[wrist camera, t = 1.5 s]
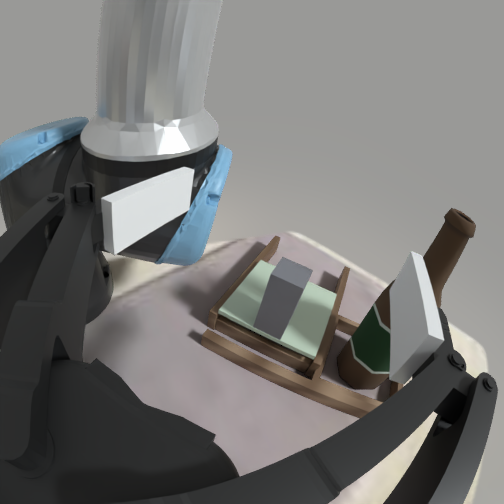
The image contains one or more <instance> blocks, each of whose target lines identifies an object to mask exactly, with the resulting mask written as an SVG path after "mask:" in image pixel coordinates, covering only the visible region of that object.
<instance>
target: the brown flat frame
mask: <svg viewBox="0 0 504 504" xmlns="http://www.w3.org/2000/svg"><path fill="white" fill-rule="evenodd" d="M279 241H280V237H278V236H275V237H274V238H273V239H272V240H271V241H270V243H269V244H268V245H267V246H266V247H265V248H264V249H263V251H262V252H261V253H260V254H259V255H258V256H257V257H256V259H255V260H254V261H253V262H252V263H251V264H250V265H249V267H248V268H247V269H246V270H245V271H244V272H243V273H242V274H241V276H240V277H239V278H238V279H237V280H236V281H235V282H234V284H233V285H232V286H231V287H230V288H229V289H228V290H227V292H226V293H225V294H224V295H223V296H222V297H221V298H220V300H219V301H218V302H217V303H216V304H215V305H214V306H213V307H212V309H211V310H210V311H209V317H208V324H207V326H208V327H210V328H212V329H213V330H214V329H216V330H218V331H220V332H222V333H223V334H225V335H227V336H229V337H231V338H233V339H235V340H237V341H239V342H241V343H242V344H244V345H246V346H248V347H250V348H252V349H254V350H256V351H258V352H260V353H262V354H264V355H266V356H269V357H271V358H273V359H275V360H277V361H279V362H281V363H283V364H285V365H288V366H290V367H292V368H294V369H296V370H299V371H301V372H303V373H304V372H305V371H306V372H305V374H304V375H307V376H309V377H310V378H309V379H307V378H305V377H303V376H301V375H298V374H296V373H294V372H292V371H290V370H287V369H285V368H283V367H281V366H279V365H277V364H275V363H272V362H270V361H268V360H266V359H264V358H262V357H260V356H258V355H256V354H254V353H252V352H250V351H248V350H246V349H244V348H242V347H240V346H238V345H236V344H235V343H233V342H231V341H229V340H227V339H225V338H223V337H221V336H220V335H218V334H216V333H214V332H212V331H210V330H209V329H207V330H206V331H205V332H204V334H203V335H202V341H201V345H202V346H204V347H206V348H208V349H209V350H211V351H213V352H215V353H217V354H218V355H220V356H222V357H224V358H226V359H228V360H229V361H231V362H233V363H235V364H237V365H239V366H241V367H243V368H245V369H247V370H249V371H251V372H253V373H255V374H257V375H259V376H261V377H263V378H265V379H267V380H269V381H271V382H273V383H275V384H278V385H280V386H282V387H284V388H286V389H288V390H291V391H293V392H295V393H297V394H300V395H302V396H304V397H307V398H309V399H312V400H314V401H316V402H319V403H321V404H324V405H326V406H329V407H331V408H334V409H337V410H339V411H342V412H345V413H347V414H350V415H353V416H356V417H358V418H362V417H363V416H365V415H366V414H368V413H369V412H371V411H372V410H373V409H375V408H376V407H378V406H379V405H380V404H382V403H383V402H380V401H377V400H375V399H372V398H369V397H366V396H364V395H361V394H359V393H356V392H353V391H351V390H348V389H346V388H343V387H341V386H338V385H336V384H333V383H331V382H328V381H326V380H324V379H321V378H320V376H321V373H322V370H323V367H324V364H325V362H326V359H327V356H328V352H329V349H330V346H331V343H332V340H333V337H334V334H335V330H336V329H338V330H340V331H342V332H344V333H347V334H349V335H351V336H352V335H353V334H354V332H355V331H356V330H357V328H358V327H359V325H360V324H358V323H356V322H354V321H351V320H349V319H347V318H345V317H342V316H340V315H338V311H339V307H340V304H341V300H342V297H343V293H344V290H345V286H346V282H347V278H348V275H349V271H350V268H348V267H346V266H345V267H344V269H343V271H342V273H341V275H340V277H339V280H338V283H337V286H336V289H335V292H334V293H335V294H337V296H336V299H335V302H334V305H333V308H332V311H331V314H330V317H329V320H328V323H327V326H326V329H325V332H324V335H323V338H322V340H321V343H320V346H319V349H318V351H317V354H316V357H315V358H314V359H311V358H309V357H307V356H302V355H299V354H297V353H295V352H293V351H291V350H289V349H286V348H284V347H282V346H280V345H278V344H276V343H274V342H272V341H270V340H268V339H266V338H263V337H261V336H259V335H257V334H255V333H253V332H251V331H249V330H247V329H245V328H243V327H242V326H240V325H238V324H236V323H234V322H232V321H230V319H229V318H227V317H225V316H223V315H221V314H219V313H218V311H219V309H220V308H221V307H222V305H223V304H224V303H225V302H226V301H227V299H228V298H229V297H230V296H231V295H232V294H233V292H234V291H235V290H236V289H237V288H238V286H239V285H240V284H241V283H242V282H243V281H244V279H245V278H246V277H247V276H248V275H249V273H250V272H251V271H252V270H253V269H254V267H255V266H256V265H257V264H258V263H259V261H260V260H263V261H265V262H268V261H269V260H270V258H271V257H272V256H273V255H274V253H275V252H276V250H277V247H278V244H279ZM401 388H403V384H401V383H398V382H395V381H392V382H391V389H390V397H391V396H392V395H394V394H395V393H396V392H398V391H399V390H400V389H401ZM390 397H389V398H390Z"/></svg>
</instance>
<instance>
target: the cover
mask: <svg viewBox="0 0 504 504" xmlns="http://www.w3.org/2000/svg"><path fill="white" fill-rule="evenodd" d="M312 271H313V270H311V269H309V268H307V267H304V266H302V265H300V264H298V263H295V262H293V261H291V260H289V259H286V258H284V257H282V259H281V260H280V262H279V263H278V264H277V266H274V265H271V264H269V263H267V262H265V261H263V260H260V261H259V263H258V264H257V265H256V266H255V267H254V269H253V270H252V271H251V272H250V273H249V275H248V276H247V277H246V278H245V279H244V281H243V282H242V283H241V284H240V285H239V286H238V288H237V289H236V290H235V291H234V292H233V294H232V295H231V296H230V297H229V298H228V299H227V301H226V302H225V303H224V304H223V305H222V307H221V308H220V309H219V311H218V313H219V314H221V315H223V316H225V317H227V318H229V319H230V320H232V321H234V322H236V323H238V324H240V325H242V326H244V327H246V328H248V329H250V330H252V331H254V332H256V333H258V334H260V335H262V336H264V337H266V338H268V339H270V340H272V341H275V342H277V343H279V344H281V345H283V346H285V347H287V348H289V349H291V350H294V351H296V352H298V353H300V354H302V355H305V356H307V357H309V358H311V359H314V358H315V357H316V354H317V351H318V349H319V346H320V343H321V340H322V338H323V335H324V332H325V329H326V326H327V323H328V320H329V317H330V314H331V311H332V308H333V305H334V302H335V299H336V296H337V294H335V293H333V292H331V291H329V290H326V289H324V288H322V287H320V286H318V285H315V284H313V283H311V282H309V281H308V280H309V278H310V276H311V273H312Z"/></svg>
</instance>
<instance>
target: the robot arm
mask: <svg viewBox="0 0 504 504" xmlns="http://www.w3.org/2000/svg"><path fill="white" fill-rule="evenodd" d="M222 3H223V0H103V4H102V10H101V18H100V28H99V38H98V51H97V80H96V83H97V84H96V86H97V87H96V88H97V89H96V92H97V94H96V96H97V111H96V113H95V115H94V116H93V117H92V119H91V120H90V121H89V120H88V119H87V118H86V117H74V118H69V119H64V120H59V121H55V122H51V123H48V124H44V125H41V126H38V127H35V128H32V129H30V130H27V131H25V132H22V133H19V134H17V135H15V136H13V137H11V138H9V139H7V140H6V141H4V142H3V143H2V144H1V145H0V203H1V208H2V212H3V216H4V220H5V224H6V228H7V231H6V232H5V233H4V234H3V235H2V236H1V237H0V349H1V350H0V504H328V503H329V502H331V501H332V500H334V499H335V498H336V497H337V496H338V495H339V494H340V492H341V491H342V490H343V489H344V488H346V487H347V486H349V485H350V484H351V483H353V482H354V481H356V480H357V479H358V478H360V477H361V476H363V475H364V474H365V473H367V472H368V471H369V470H370V469H372V468H373V467H374V466H376V465H377V464H378V463H379V462H381V461H382V460H383V459H384V458H385V457H387V456H388V455H389V454H390V453H391V452H392V451H393V450H395V449H396V448H397V447H398V446H399V445H400V444H401V443H402V442H403V441H405V440H406V439H407V438H408V437H409V436H410V435H411V434H412V433H413V432H414V431H415V430H416V429H417V428H418V427H419V426H420V425H421V424H422V423H423V422H424V421H425V420H426V419H427V418H428V417H429V415H430V414H431V413H432V412H433V411H434V412H435V413H437V414H438V415H437V417H436V419H435V421H434V423H433V425H432V427H431V429H430V431H429V433H428V435H427V437H426V439H425V440H424V442H423V444H422V446H421V448H420V449H419V451H418V453H417V455H416V456H415V458H414V460H413V461H412V463H411V465H410V466H409V468H408V469H407V471H406V472H405V474H404V475H403V477H402V478H401V480H400V481H399V483H398V484H397V486H396V487H395V489H394V490H393V491H392V493H391V494H390V495H389V497H388V498H387V499H386V501H385V502H384V503H383V504H463V503H464V501H465V498H466V496H467V494H468V492H469V489H470V487H471V485H472V482H473V480H474V477H475V475H476V472H477V469H478V467H479V464H480V461H481V458H482V455H483V452H484V449H485V445H486V442H487V438H488V435H489V431H490V427H491V423H492V419H493V414H494V409H495V404H496V399H497V393H498V392H497V391H498V389H497V385H496V382H495V381H494V378H492V377H491V375H489V374H488V373H485V372H483V373H481V374H480V375H479V376H478V377H477V378H474V377H472V376H471V375H470V374H468V373H467V372H466V363H465V361H464V359H463V357H462V356H461V355H460V354H459V353H458V352H457V351H456V350H454V349H453V344H452V339H451V335H450V332H449V331H450V330H449V326H448V322H447V318H446V316H445V314H444V312H443V311H442V309H440V308H438V307H437V305H436V301H435V297H434V293H433V290H432V286H431V283H430V279H429V276H428V272H427V269H426V266H425V263H424V260H423V257H422V256H421V255H419V254H417V253H414V252H412V251H411V252H410V254H409V256H408V258H407V260H406V262H405V264H404V265H403V267H402V269H401V271H400V273H399V274H398V276H397V278H396V280H395V281H394V283H393V285H392V287H391V288H390V290H389V291H390V318H391V346H390V374H389V380H392V381H395V382H398V383H401V384H405V383H406V382H407V381H408V380H409V379H410V378H411V377H412V380H411V381H410V382H409V383H408V384H406V385H405V386H404V387H403V388H401V389H400V390H399V391H398V392H396V393H395V394H394V395H392V396H391V397H390V398H389V399H387V400H386V401H385V402H383V403H382V404H380V405H379V406H378V407H376V408H375V409H373V410H372V411H371V412H369V413H368V414H366V415H365V416H363V417H362V418H360V419H359V420H357V421H356V422H354V423H353V424H351V425H349V426H348V427H346V428H345V429H343V430H341V431H340V432H338V433H336V434H335V435H333V436H331V437H329V438H328V439H326V440H324V441H322V442H321V443H319V444H317V445H315V446H313V447H311V448H306V449H304V450H302V451H300V452H298V453H295V454H293V455H291V456H289V457H287V458H285V459H283V460H280V461H278V462H276V463H274V464H271V465H269V466H266V467H264V468H262V469H259V470H257V471H254V472H251V473H249V474H246V475H243V476H241V477H240V476H239V474H238V472H237V469H236V467H235V466H234V464H233V462H232V461H231V459H230V458H229V457H228V456H227V454H226V453H225V452H224V451H223V450H222V449H221V448H220V447H219V446H218V445H216V444H215V443H214V442H213V441H214V438H215V436H216V435H215V434H213V433H211V432H209V431H207V430H206V429H204V428H202V427H200V426H198V425H196V424H194V423H192V422H190V421H189V420H187V419H185V418H183V417H181V416H178V415H175V414H171V413H168V412H165V411H162V410H159V409H157V408H154V407H151V406H148V405H146V404H144V403H143V402H142V401H141V400H140V399H139V398H138V397H137V396H136V395H135V394H134V392H133V391H132V390H131V389H130V388H129V387H128V385H127V384H126V383H125V382H124V381H123V379H122V378H121V377H120V376H119V375H117V374H116V373H115V372H113V371H112V370H111V369H109V368H108V367H107V366H105V365H104V364H103V363H102V362H100V361H99V360H98V359H97V358H96V359H95V360H94V361H93V362H92V363H91V364H88V363H85V362H83V359H82V350H83V340H84V330H85V325H86V324H88V323H89V322H91V321H92V320H94V319H95V318H96V317H97V316H99V315H100V314H101V313H102V312H103V310H104V309H105V308H106V307H107V305H108V303H109V301H110V299H111V296H112V293H113V281H112V275H111V270H110V267H109V264H108V262H107V260H106V259H105V257H104V255H103V253H102V251H104V252H108V253H112V254H113V255H116V254H117V255H122V256H126V257H131V258H135V259H140V260H144V261H149V262H154V263H155V264H161V263H167V264H175V265H183V266H187V265H191V264H194V263H195V262H197V261H198V260H199V259H200V258H201V256H202V254H203V252H204V249H205V247H206V244H207V241H208V237H209V234H210V231H211V228H212V224H213V221H214V218H215V214H216V211H217V207H218V202H219V200H220V197H221V194H222V190H223V188H224V185H225V181H226V178H227V174H228V171H229V167H230V164H231V160H232V151H231V150H230V149H228V148H225V147H224V146H222V145H217V139H218V133H219V127H218V123H217V122H216V121H215V119H214V118H213V117H212V116H211V115H210V114H209V113H208V112H207V110H206V109H205V108H204V98H205V91H206V84H207V78H208V73H209V67H210V61H211V55H212V50H213V45H214V40H215V35H216V30H217V25H218V20H219V15H220V11H221V7H222Z"/></svg>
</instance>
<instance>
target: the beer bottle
mask: <svg viewBox="0 0 504 504" xmlns="http://www.w3.org/2000/svg"><path fill="white" fill-rule="evenodd" d="M444 218H445V223H444V224H443V226H442V228H441V230H440V231H439V233H438V235H437V236H436V238H435V240H434V241H433V243H432V244H431V246H430V247H429V249H428V251H427V252H426V254H425V255H424V257H423V260H424V263H425V266H426V269H427V272H428V276H429V279H430V283H431V286H432V290H433V293H434V297H435V301H436V305H437V307H438V308H440V306H441V293H442V289H443V287H444V285H445V283H446V281H447V279H448V278H449V276H450V274H451V272H452V271H453V269H454V267H455V265H456V263H457V261H458V259H459V258H460V256H461V254H462V252H463V250H464V248H465V246H466V244H467V242H468V239H469V238H472V237H473V236H474V232H475V228H476V225H475V223H474V222H473V221H472V220H471V219H470V218H469V217H468V216H466V215H465V214H464V213H462V212H461V211H458V210H456V209H453V208H451V209H450V210H449V211H448V213H447V214H446V215H445V216H444ZM395 280H396V279H395ZM395 280H394V281H395ZM394 281H393V282H392V283H391V284H390V285H389V286H388V287H387V288H386V289H385V290H384V291H383V292H382V294H381V295H380V296H379V298H378V299H377V300H376V301H375V303H374V304H373V306H372V307H371V309H370V310H369V312H368V313H367V315H366V316H365V318H364V319H363V321H362V322H361V324H360V325H359V327H358V328H357V330H356V331H355V332H354V334H353V335H352V337H351V338H350V339H349V341H348V342H347V344H346V345H345V346H344V348H343V349H342V350H341V352H340V354H339V355H338V357H337V362H338V368H339V375H340V377H341V378H342V379H343V380H344V381H346V382H347V383H348V384H349V385H350V386H351V387H353V388H354V389H375V388H376V387H378V386H379V385H380V384H381V383H382V382H383V381H384V380H386V379H387V378H388V377H389V374H390V346H391V318H390V291H389V290H390V288H391V287H392V285H393V283H394Z"/></svg>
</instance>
